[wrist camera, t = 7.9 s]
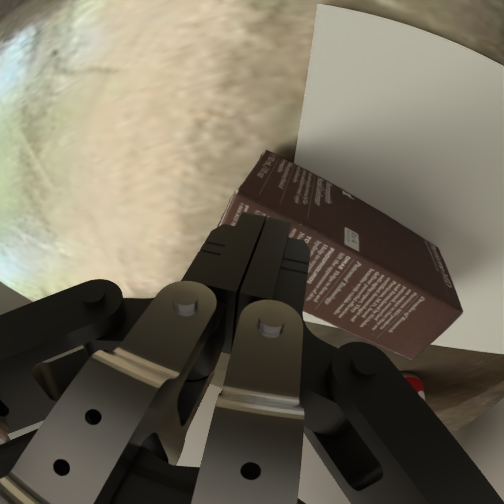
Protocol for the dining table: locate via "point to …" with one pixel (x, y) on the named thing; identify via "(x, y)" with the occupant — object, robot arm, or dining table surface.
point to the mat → (415, 148)
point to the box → (354, 258)
